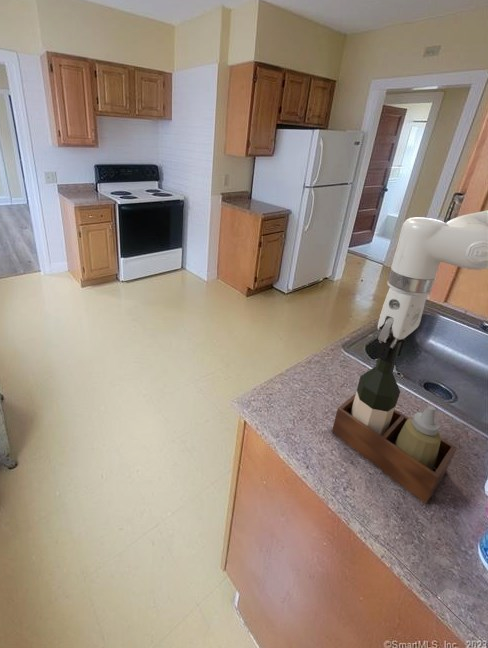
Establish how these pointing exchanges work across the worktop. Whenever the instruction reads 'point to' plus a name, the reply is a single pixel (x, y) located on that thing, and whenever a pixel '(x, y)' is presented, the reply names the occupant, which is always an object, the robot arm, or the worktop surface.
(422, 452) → the squeeze bottle
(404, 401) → the worktop surface
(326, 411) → the worktop surface
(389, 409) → the wine bottle
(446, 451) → the bottle rack
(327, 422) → the worktop surface
